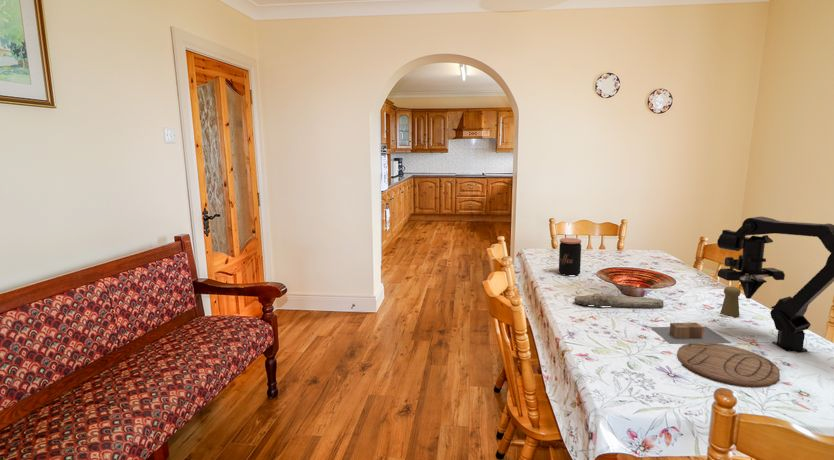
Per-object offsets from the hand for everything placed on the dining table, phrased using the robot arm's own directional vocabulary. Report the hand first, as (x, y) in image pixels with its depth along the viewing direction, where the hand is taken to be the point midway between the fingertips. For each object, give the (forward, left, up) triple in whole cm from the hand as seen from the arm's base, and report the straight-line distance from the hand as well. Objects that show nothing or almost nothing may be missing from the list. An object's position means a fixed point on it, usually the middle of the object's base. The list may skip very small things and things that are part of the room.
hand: (747, 298), depth 152 cm
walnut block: (-3, +17, -10) cm, 20 cm away
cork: (+17, -6, -13) cm, 22 cm away
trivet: (-23, +21, -13) cm, 34 cm away
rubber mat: (-2, +20, -12) cm, 24 cm away
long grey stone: (+30, +31, -13) cm, 45 cm away
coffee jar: (+77, +37, -13) cm, 86 cm away
